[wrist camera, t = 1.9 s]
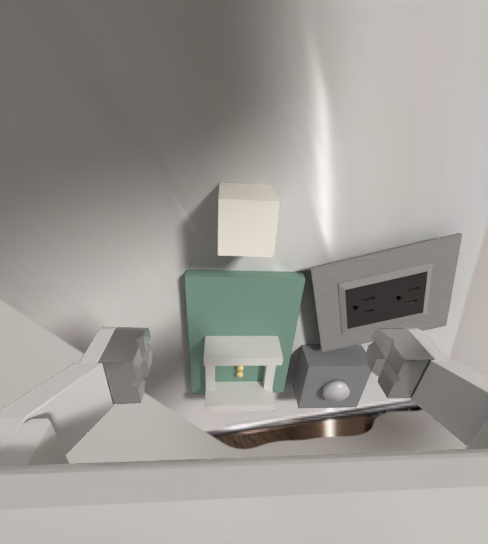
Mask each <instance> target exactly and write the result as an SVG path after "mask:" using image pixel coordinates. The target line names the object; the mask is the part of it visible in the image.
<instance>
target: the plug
mask: <svg viewBox="0 0 488 544" xmlns="http://www.w3.org/2000/svg"><path fill="white" fill-rule="evenodd" d="M279 208H280V200H279V199H278V197H277V196H276V194H275V193H274V191H273V190H272V188H271V186H270V185H260V184H237V183H220V185H219V197H218V256H256V257H274V249H275V241H276V233H277V224H278V216H279Z"/></svg>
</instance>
